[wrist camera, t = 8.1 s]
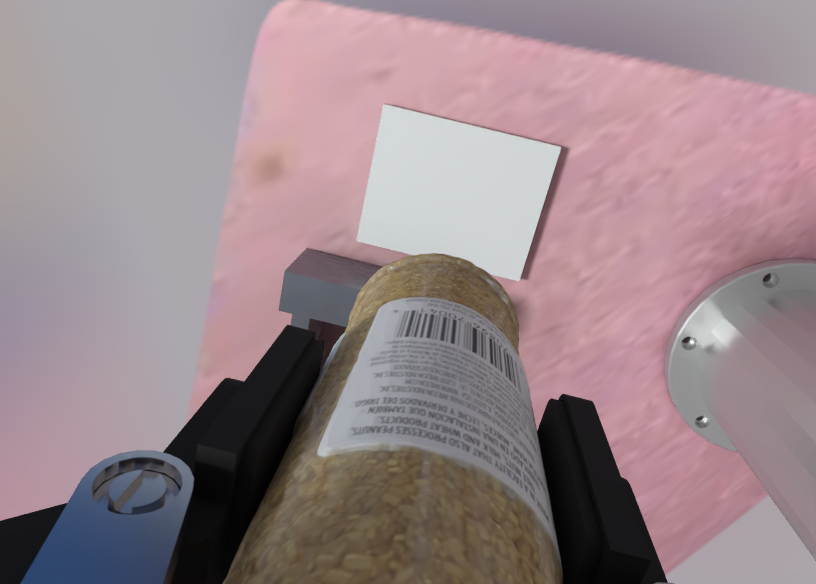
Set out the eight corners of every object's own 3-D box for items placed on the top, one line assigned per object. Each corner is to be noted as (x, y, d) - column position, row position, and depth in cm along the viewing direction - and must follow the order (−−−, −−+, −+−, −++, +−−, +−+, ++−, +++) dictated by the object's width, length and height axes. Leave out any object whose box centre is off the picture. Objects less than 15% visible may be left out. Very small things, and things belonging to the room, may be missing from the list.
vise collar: (464, 287, 36) (463, 315, 32) (422, 436, 40) (417, 479, 36) (306, 248, 36) (284, 270, 32) (281, 400, 40) (258, 439, 36)
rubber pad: (559, 146, 32) (561, 147, 32) (518, 278, 35) (519, 281, 35) (385, 103, 32) (383, 104, 32) (358, 238, 35) (356, 241, 35)
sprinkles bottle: (319, 331, 16) (-228, 1230, 4) (429, 211, 15) (163, 1027, 2) (441, 432, 17) (347, 1481, 4) (558, 327, 15) (948, 1463, 3)
